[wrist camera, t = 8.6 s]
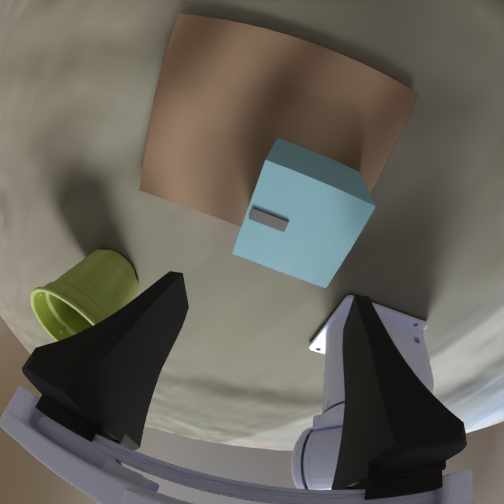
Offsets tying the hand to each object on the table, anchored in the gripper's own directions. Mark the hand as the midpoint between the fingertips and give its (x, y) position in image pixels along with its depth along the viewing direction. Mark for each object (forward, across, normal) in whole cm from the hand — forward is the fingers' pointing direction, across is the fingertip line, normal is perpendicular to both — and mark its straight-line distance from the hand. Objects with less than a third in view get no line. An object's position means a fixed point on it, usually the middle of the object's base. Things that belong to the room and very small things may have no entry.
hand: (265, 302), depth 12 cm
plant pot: (+10, +17, +9) cm, 21 cm away
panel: (+10, +2, -5) cm, 11 cm away
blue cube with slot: (+9, -1, -2) cm, 9 cm away
